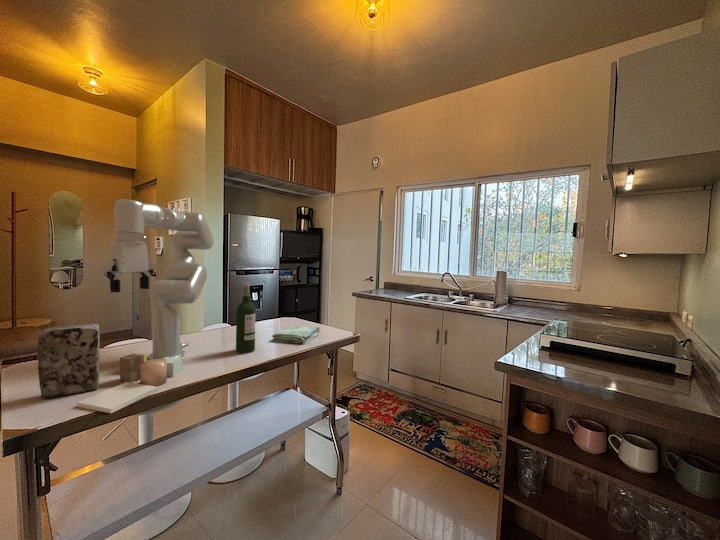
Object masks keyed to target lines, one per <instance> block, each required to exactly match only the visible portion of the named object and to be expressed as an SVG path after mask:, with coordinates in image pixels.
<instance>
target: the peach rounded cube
mask: <svg viewBox="0 0 720 540" xmlns="http://www.w3.org/2000/svg"><path fill="white" fill-rule="evenodd" d="M167 381H168V377H167V360H166V359H151V360H148V359H147V361H144V362H142V363H141V379H140V384H143V385H149V386H155V387H160V386H163V385H164V384H166V383H167Z"/></svg>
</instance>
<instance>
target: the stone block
mask: <svg viewBox="0 0 720 540" xmlns="http://www.w3.org/2000/svg"><path fill="white" fill-rule="evenodd" d="M100 328H101V327H100V325H99V324H98V323H88V324H76V325H67V326H66V325H64V326H56V327H49V328H46V329H43V330H41V331H40V332H39V333H38V336H37V357H38V359H37V368H38V369H37V370H38V381H39V389H40V390H39V391H40V394H41V395H40V397H41V398H42V399H53V398H57V397H62V396H69V395H75V394H79V393H85V392H89V391H94V390H98V389H99V386H100V349H101V348H100V342H101V339H100V337H101V336H100V335H101V333H100V331H101V329H100Z"/></svg>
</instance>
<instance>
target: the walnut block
mask: <svg viewBox="0 0 720 540" xmlns="http://www.w3.org/2000/svg"><path fill="white" fill-rule="evenodd" d="M141 354H142V353H133V352H132V353H130V354H128V355H125V356H122V357H121V356H120V357H119V382H121V383H126V382H131V383H136V382H138V381H141V363H142V362H144V355H141Z"/></svg>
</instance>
